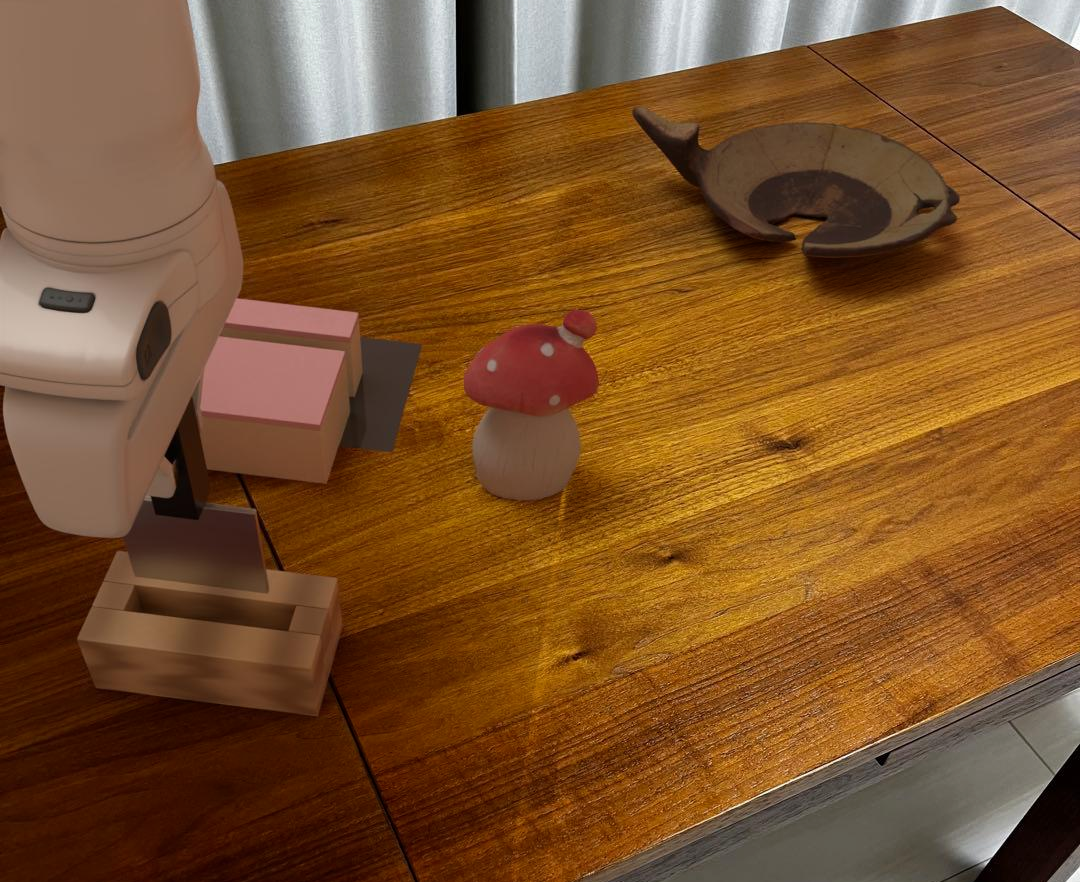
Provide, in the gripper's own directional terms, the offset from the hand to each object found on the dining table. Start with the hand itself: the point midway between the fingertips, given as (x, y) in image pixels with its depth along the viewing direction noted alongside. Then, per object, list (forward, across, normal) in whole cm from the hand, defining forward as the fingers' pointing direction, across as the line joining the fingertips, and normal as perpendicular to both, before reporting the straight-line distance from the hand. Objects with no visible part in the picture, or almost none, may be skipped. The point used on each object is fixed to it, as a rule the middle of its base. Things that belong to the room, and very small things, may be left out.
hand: (173, 462), depth 63 cm
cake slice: (+18, -27, -2) cm, 32 cm away
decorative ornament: (+18, -20, +17) cm, 32 cm away
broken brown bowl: (+18, -60, +38) cm, 74 cm away
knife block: (+18, 0, 0) cm, 18 cm away
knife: (+10, 0, 0) cm, 10 cm away
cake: (+18, -20, -2) cm, 27 cm away
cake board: (+18, -24, -2) cm, 30 cm away
